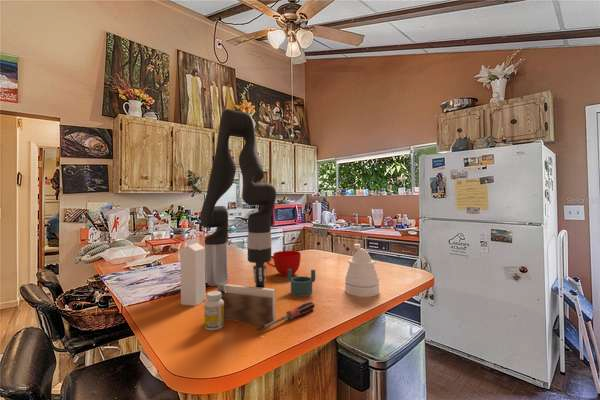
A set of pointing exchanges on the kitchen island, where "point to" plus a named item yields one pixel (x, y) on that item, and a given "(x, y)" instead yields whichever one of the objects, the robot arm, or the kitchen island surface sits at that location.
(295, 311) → the screwdriver
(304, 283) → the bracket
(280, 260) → the ceramic cup
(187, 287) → the milk
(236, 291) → the cream flat slab
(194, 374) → the kitchen island surface
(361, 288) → the honey pot
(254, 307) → the brown rectangular block
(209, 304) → the supplement bottle
